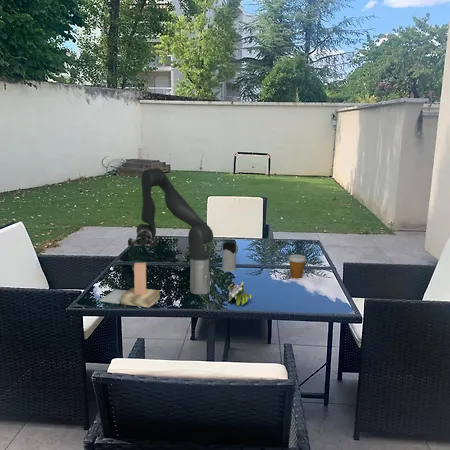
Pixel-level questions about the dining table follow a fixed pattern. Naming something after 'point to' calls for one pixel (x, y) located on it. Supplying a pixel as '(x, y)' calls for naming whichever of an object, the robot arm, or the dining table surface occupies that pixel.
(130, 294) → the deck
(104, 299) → the mat
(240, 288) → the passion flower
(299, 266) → the disposable coffee cup
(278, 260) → the dining table surface
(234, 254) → the glass holder
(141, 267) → the tall tan block
